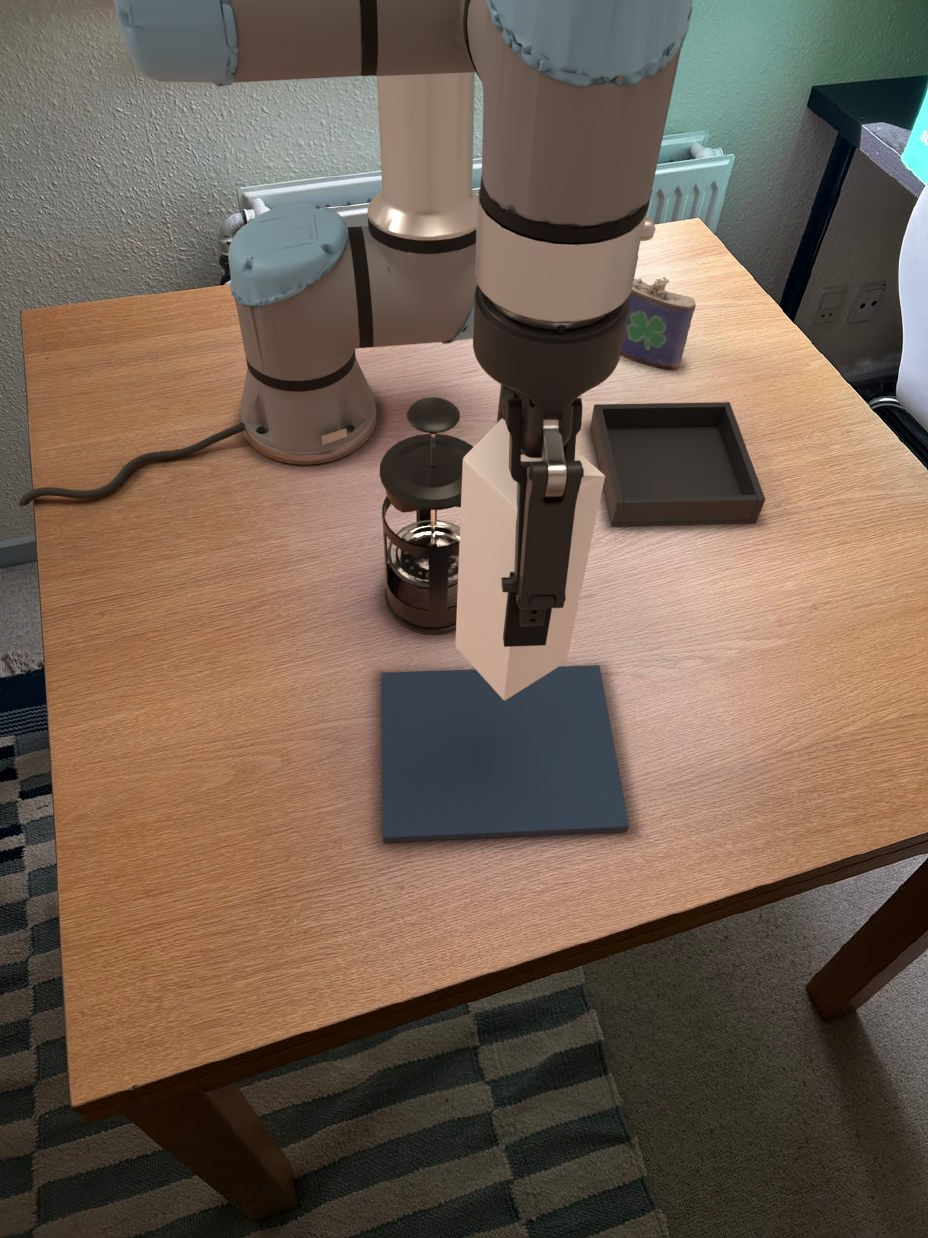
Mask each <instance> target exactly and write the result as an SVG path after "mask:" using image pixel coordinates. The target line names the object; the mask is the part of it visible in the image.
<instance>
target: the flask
mask: <svg viewBox="0 0 928 1238" xmlns="http://www.w3.org/2000/svg"><path fill="white" fill-rule="evenodd" d="M669 282H670V280H669V279H668V278H666V276H662V279H661V278H655V280H654V282H653V284H651V285H650V284H648V283H647V282H644V281H643V280H642V278H638V279H637V278H634V282H633V287H632V291H631V293H630V294H629V296H628V297H629V301H630V308H629V313H628V318H627V323H626V329H625V334H624V339H623V344H622V349H621V354H620V356H622V357H624V358H626V359H629V360H631V361H636V362H637V363H642V364H644V365H648V366H650V367H655V368H659V369H661V370H669V371H675V370H677V369H679V367H680V366H681V364H682V360H683V356H684V351H685V347H686V344H687V341H688V336H689V332H690V331H689V330H690V328H691V325H692V319H693V316H694V313H695V310H696V301H695V299H694V298H693V297H690V296H688V295H683V294H678V293H675V292H671V291H667V290H666V286H667V284H669Z"/></svg>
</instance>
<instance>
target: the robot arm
mask: <svg viewBox="0 0 928 1238" xmlns="http://www.w3.org/2000/svg"><path fill="white" fill-rule="evenodd" d="M113 3H114V7H115V12H116V15H117V19H118V23H119V27H120V30H121V33H122V37H123V40H124V43H125V46H126V48H127V51H128V53H129V55H130V57H131V59H132V61H133V63H134V64H135V67H137V69H138V70H139V72H141V73H142V74H144V75H145V76H146V77H148V78H149V79H151V80H154V81H157V82H168V83H169V82H172V83H173V82H174V83H206V84H207V83H208V84H209V83H211V84H213V85H216V86H217V87H219V88H220V87H221V88H222V87H226V86H231V85H232V84H234V83H252V82H253V83H254V82H269V81H270V82H272V81H290V80H291V81H292V80H293V81H294V80H308V79H311V80H312V79H329V78H348V77H349V78H350V77H376V88H377V90H376V91H377V107H378V108H377V111H378V112H377V113H378V129H379V132H378V133H379V150H380V151H379V152H380V153H379V155H380V171H381V173H380V175H381V190H380V191H379V192H378V193H377V194H375V196H374V197H373V198H372V199H371V200H370V201H369V203H368V205H367V225H363V226H362V225H360V226H348V225H347V223H346V222H345V221H344V218H343V217H342V216H341V215H340V213H338V212H337V211H336V210H334V209H332V208H330V207H327V206H324V207H321V206H320V205H318V204H317V203H316V204H315V203H293V204H286V205H282V206H278V207H275V208H271V209H269V210H266V211H264V212H262V213H260V214H258V215H256V216H254V217H253V218H251V219H250V220H249V222H247V223H245V224H243V226H241V227H240V228H239V230H237V232H236V233H235V235H234V236H233V238H232V240H231V242H230V244H229V248H228V256H227V258H228V266H229V275H230V282H229V288H230V293H231V296H232V297H233V298H234V302H235V306H236V311H237V318H238V323H239V328H240V333H241V340H242V344H243V350H244V355H245V361H246V367H247V370H246V374H245V380H244V385H243V389H242V395H241V400H240V406H239V418H240V423H237V424H236V425H234V426H231V427H229V428H227V429H226V428H225V429H224V430H222V431H220V432H217V433H214V434H212V435H210V436H207V437H206V438H204V439H202V440H200V441H198V442H196V443H194V444H192V445H191V444H190V445H189V446H186V447H183V448H179V449H173V450H162V451H154V452H148V453H144V454H141V455H139V456H137V457H135V458H133V459H131V460H130V461H129V462H127V463H126V464H125V465H124V466H123V467H122V468H121V470H120V471H119V472H118V473H117V475H116V476H115V477H114V478H113V479H112V480H111V481H110V482H109V483H107V484H105V485H103V486H101V487H98V488H95V489H89V490H87V489H86V490H85V489H84V490H83V489H82V490H81V489H80V490H79V489H71V488H70V489H69V488H62V487H51V486H45V487H44V486H43V487H37V488H34V489H31V490H29V491H28V492H26V493H25V494H24V495H23V496H21V498H20V499H19V502H18V506H20V507H24V506H28V505H29V504H30V503H31V502H32V501H34V500H35V499H37V498H40V497H44V496H47V497H49V496H51V497H60V498H68V499H77V500H79V499H80V500H87V499H89V500H90V499H97V498H102V497H104V496H106V495H109V494H110V493H112V492H114V491H115V490H116V489H118V488H119V487H120V486H121V485H122V484H123V483H124V482H125V480H127V478H128V477H129V476H130V474H131V473H132V472H133V471H134V470H135V469H136V468H138V467H139V466H141V465H144V464H146V463H149V462H153V461H159V460H171V459H178V458H184V457H187V456H191V455H193V454H196V453H197V452H200V451H202V450H204V449H206V448H208V447H210V446H212V445H214V444H216V443H219V442H221V441H223V440H225V439H227V438H231V437H233V436H235V435H237V434H240V433H242V432H243V435H244V437H245V439H246V441H247V442H248V444H249V445H250V446H251V447H252V448H253V449H254V450H256V451H257V452H258V453H260V454H261V455H263V456H265V457H267V458H269V459H271V460H274V461H277V462H281V463H285V464H290V465H291V464H292V465H300V466H301V465H302V466H305V465H308V466H309V465H319V464H324V463H329V462H332V461H333V462H334V461H336V460H340V459H342V458H345V457H346V456H348V455H351V454H352V453H354V452H356V451H357V450H358V449H360V448H361V447H362V446H363V445H364V444H365V443H366V442H367V441H368V440H369V439H370V437H371V436H372V434H373V432H374V430H375V427H376V424H377V406H376V399H375V396H374V393H373V391H372V389H371V387H370V385H369V383H368V381H367V378H366V377H365V375H364V372H363V370H362V368H361V366H360V364H359V362H358V359H357V357H356V349H357V350H359V349H368V348H369V349H370V348H382V347H385V348H386V347H396V346H397V347H398V346H409V345H410V346H411V345H422V344H436V343H442V344H443V345H449V344H453V343H455V342H458V341H467V340H472V349H473V353H474V356H475V359H476V361H477V362H478V364H479V366H480V367H481V369H482V370H483V371H484V372H485V373H486V374H487V375H488V376H489V377H490V378H491V379H492V380H494V381H496V382H497V383H499V384H500V391H499V399H498V407H497V417H496V424H497V423H498V422H499V421H500V420H501V419H503V420H505V423H506V426H507V429H508V431H509V471H510V473H511V476H512V478H513V480H515V481H516V482H517V519H516V538H515V571H514V572H510V576H509V577H502V592H508V595H507V605H506V614H505V623H504V633H503V642H504V647H513V646H543V645H546V641H547V635H548V629H549V623H550V617H551V611H552V608H563V606H564V602H565V600H566V596H565V590H566V582H567V573H568V565H569V557H570V548H571V540H572V532H573V523H574V515H575V507H576V501H577V497H578V493H579V489H580V485H581V480H582V478H583V476H584V469H583V467H582V463H581V461H580V460H575V451H576V445H577V444H576V443H577V435H578V434H579V433H580V431H581V429H582V422H583V400H582V398H581V396H582V395H583V394H585V393H587V392H590V390H593V389H594V388H596V387H598V386H600V385H601V384H603V383H604V382H605V381H606V380H607V379H609V377H611V375H612V374H613V373H614V372H615V370H616V368H617V367H618V364H619V363H620V362H619V361H620V359H621V355H620V354H621V349H622V344H623V339H624V334H625V329H626V323H627V318H628V313H629V308H630V301H629V297H628V296H629V294H630V293H631V291H632V287H633V282H634V279H635V276H636V271H637V266H638V260H639V250H640V245H641V242H646V241H650V240H652V239H653V238H654V236H655V232H656V226H655V222H654V219H652V218H650V217H647V213H648V211H649V208H650V202H651V196H652V194H653V188H654V181H655V178H656V173H657V168H658V163H659V158H660V154H661V148H662V143H663V138H664V133H665V129H666V124H667V119H668V115H669V110H670V105H671V99H672V95H673V90H674V86H675V81H676V77H677V76H676V75H677V71H678V66H679V61H680V57H681V52H682V48H683V46H684V42H685V40H686V37H687V35H688V33H689V28H690V21H691V19H692V13H693V0H113ZM476 75H477V77H478V79H479V80H480V81H481V85H482V141H481V142H482V146H481V148H482V149H481V175H480V185H479V189H478V192H477V193H476V192H475V190H474V189H473V179H474V178H473V177H474V175H473V173H474V134H475V133H474V132H475V92H476V91H475V90H476V89H475V88H476V87H475V86H476ZM521 455H525V456H527V457H529V458H542V461H521Z"/></svg>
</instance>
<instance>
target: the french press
mask: <svg viewBox="0 0 928 1238" xmlns="http://www.w3.org/2000/svg"><path fill="white" fill-rule="evenodd" d="M460 418H461V412H460V410H459V408H458V407H457V406H456V404H454V403H453V402H451V401H450V400H448V399H445V398H442V397H436V396H435V397H423V398H420V399H418V400H416V401H414V402H413V403H412V404H411V405H410V406H409V407H408V409H407V411H406V419H407V422H408V423H409V424H410V425H411V427H412V428H414V429H416V430H417V431H419V432H422V433H423V434H415V435H413V436H408V437H406V438H404V439H402V440H399V441H398V442H397V443H395V444H394V445H392V446H391V447H390V448H389V449H388V450H387V451H386V452H385V453H384V455H383V456H382V458H381V461H380V464H379V479H380V482H381V484H382V486H383V488H384V490H385V493H386V496H385V498H384V500H383V503H382V506H381V521H382V537H383V553H384V554H383V555H384V571H385V572H384V573H385V588H384V602H385V606H386V607H385V608H386V609H387V611H388V613H389V614H390V616H391V617H392V618H393V619H394V620H395V622H397V623H398V624H399V625H400V626H402V627H404V628H405V629H408V630H410V631H413V632H416V633H420V634H426V635H440V634H446V633H449V632H453V631H456V620H457V603H456V604H454V605H452V606H449V605H448V603H449V588H452V587H455V586H458V570H459V545H460V525H458V524H455V523H453V522H450V521H446V520H439V519H438V511H441V510H449V509H453V508H461V494H462V469H463V458H464V457H465V455H466V454H467V453H468V452H469V451H470V450H471V449H472V448H473V447H474V446H473V445H472V444H470V443H469V442H467V441H465V440H463V439H461V438H458V437H456V436H452V435H450V434H449V435H448V434H442V433H444V432H448V431H450V430H451V429H453V428H455V427H456V425H457V424H458V423H459V421H460ZM391 505H392V506H393V507H394V508H395V510H397V511H398V512H401V513H402V514H403V513H404V514H405V513H412V512H415V515H416V516H415V517H416V518H415V519H416V520H415V521H416V522H412V523H410V524H408V525H406V526H403V527H402V528H401V529H399V530H398V531H397V532H396V533H395V532H394V530H392V528H391V526H389V524H388V522H387V520H386V515H387V512H388V509H389V508H390V506H391ZM388 540H389V543H388ZM402 582H404V583H405V584H407V585H409V586H411V587H414V588H417V589H420V590H424V591H428V608H422V607H417V606H414V605H411V604H409V603H407V602H405V601H404V600H403V599H401V598H400V597H399V588H400V587H401V584H402ZM448 606H449V607H448Z"/></svg>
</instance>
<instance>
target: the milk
mask: <svg viewBox="0 0 928 1238" xmlns="http://www.w3.org/2000/svg"><path fill="white" fill-rule="evenodd" d="M575 460H580V461H581V463H582V467H583V469H584V476H583V478H582V480H581V485H580V489H579V493H578V497H577V501H576V507H575V515H574V523H573V532H572V540H571V548H570V557H569V565H568V573H567V582H566V590H565V596H566V600H565V602H564V606H563V608H552V611H551V617H550V623H549V629H548V635H547V641H546V645H543V646H513V647H504V642H503V633H504V623H505V614H506V605H507V595H508V592H502V577H509V576H510V572H514V571H515V538H516V519H517V482H516V481H515V480H513V478H512V476H511V473H510V471H509V431H508V429H507V426H506V423H505V420H503V419H501V420H500V421H499V422H498V423H497V422H496V423H495V425H494V426H493V427H492V428H491V429H490V430H489V431H488V432H487V433H486V434H485V435H484V436H483V437H482V438H481V439H480V440H479V441H478V442H477V443H476V444H475V445H474V446H473V448H472V449H471V450H470V451H469V452H468V453H467V454H466V455H465V457H464V458H463V469H462V494H461V507H460V522H459V526H460V545H459V570H458V584H457V597H456V598H457V600H456V604H457V620H456V630H455V648H456V649H457V650H458V652H459V653H460V654H461V655H462V656H463V657H464V658H465V660H467V662H468V663H469V664H470V665H471V666H472V668H474V669H476V670H477V671H478V672H479V673H480V675H481V676H482V677H483V678H484V679H485V680H486V681H487V682H488V683H489V685H490V686H491V687H492V688H493V689H494V690H495V691H496V692H497V693H498V695H499V696H500V697H501V698H502V699H503V700H507V699H508V698H510V697H512V696H513V695H515V694H516V693H518V692H519V691H521V690H523V689H524V688H526V687H527V686H529V685H530V684H532V683H534V682H535V681H537V680H538V679H540V678H542V677H543V676H545V675H546V674H548V673H549V672H551V671H553V670H554V669H556V668H557V667H561V666H562V665H564V664H566V662H568V657H569V652H570V647H571V641H572V637H573V633H574V628H575V622H576V618H577V613H578V608H579V605H580V598H581V594H582V589H583V584H584V580H585V575H586V569H587V565H588V560H589V555H590V550H591V546H592V540H593V536H594V531H595V527H596V521H597V516H598V514H599V513H598V512H599V508H600V502H601V499H602V493H603V484H604V479H605V475H604V474H603V473H601V472H600V471H599V468H597V467H596V466H595V465H593V464H592V463H591V462H590V461H589V460H587V459H586V458H585V457H584V456H583V455H582V454H580V453H579V452H578V451H577V450H575ZM521 461H542V458H529V457H527V456H525V455H521Z"/></svg>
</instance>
